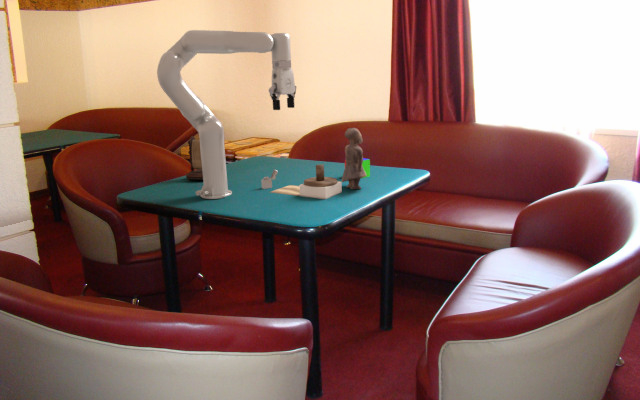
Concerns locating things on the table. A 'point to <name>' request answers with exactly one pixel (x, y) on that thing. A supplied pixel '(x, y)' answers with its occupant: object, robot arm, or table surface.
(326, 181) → the lid
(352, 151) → the clay figurine
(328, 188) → the dish
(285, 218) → the table surface
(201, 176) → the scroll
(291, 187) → the mat
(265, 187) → the lighter
